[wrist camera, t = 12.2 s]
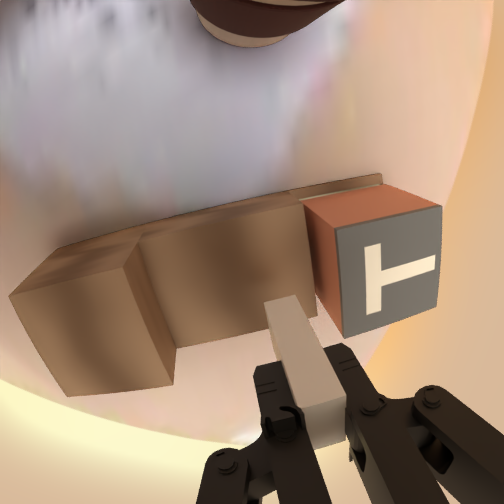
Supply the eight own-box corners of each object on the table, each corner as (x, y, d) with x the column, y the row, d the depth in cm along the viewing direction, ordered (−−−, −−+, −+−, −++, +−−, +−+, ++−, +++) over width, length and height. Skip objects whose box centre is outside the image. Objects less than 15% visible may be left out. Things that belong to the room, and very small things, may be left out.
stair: (94, 333, 25) (67, 396, 17) (57, 248, 22) (8, 296, 14) (384, 266, 26) (436, 312, 19) (379, 173, 23) (442, 194, 16)
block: (436, 306, 19) (389, 266, 25) (442, 206, 16) (385, 184, 23) (344, 338, 18) (311, 287, 25) (336, 230, 16) (299, 200, 22)
